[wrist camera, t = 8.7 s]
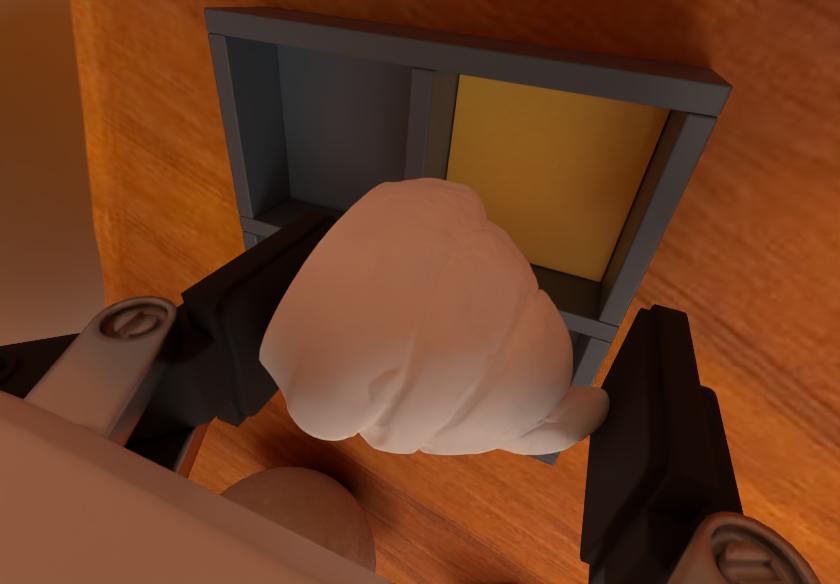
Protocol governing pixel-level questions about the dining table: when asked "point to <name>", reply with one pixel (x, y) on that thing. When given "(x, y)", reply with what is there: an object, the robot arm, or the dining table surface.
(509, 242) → the garlic bulb
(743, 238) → the dining table surface
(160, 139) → the dining table surface
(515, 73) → the grid
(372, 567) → the decorative sphere
